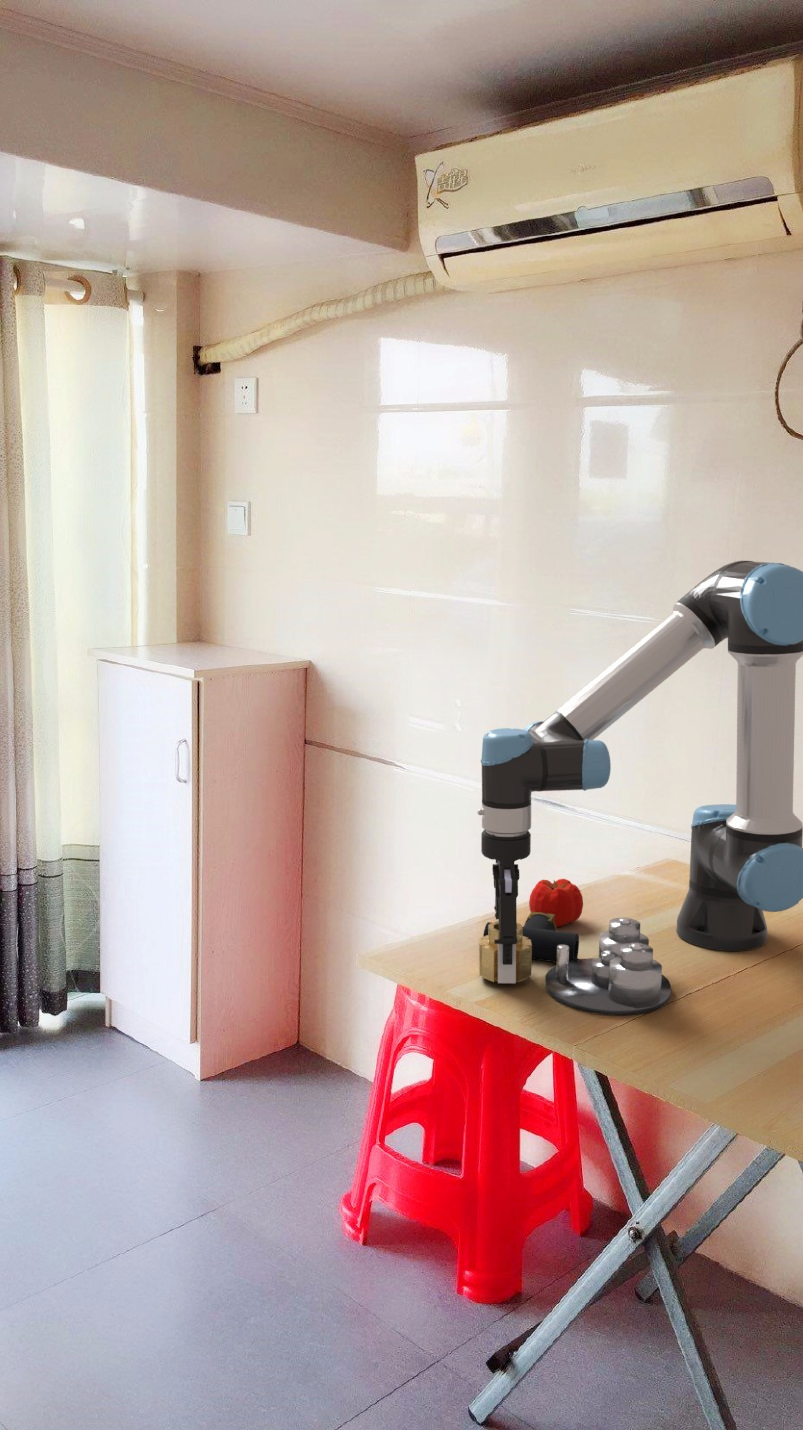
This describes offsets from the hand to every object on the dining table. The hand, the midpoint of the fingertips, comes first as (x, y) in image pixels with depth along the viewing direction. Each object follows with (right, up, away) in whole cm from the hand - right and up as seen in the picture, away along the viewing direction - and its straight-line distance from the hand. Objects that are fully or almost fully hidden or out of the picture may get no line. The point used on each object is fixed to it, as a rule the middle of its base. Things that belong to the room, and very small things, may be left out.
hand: (505, 971), depth 182 cm
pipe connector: (+6, 0, +13) cm, 14 cm away
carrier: (+15, -2, -3) cm, 16 cm away
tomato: (+11, +3, +25) cm, 28 cm away
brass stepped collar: (0, 0, 0) cm, 0 cm away
